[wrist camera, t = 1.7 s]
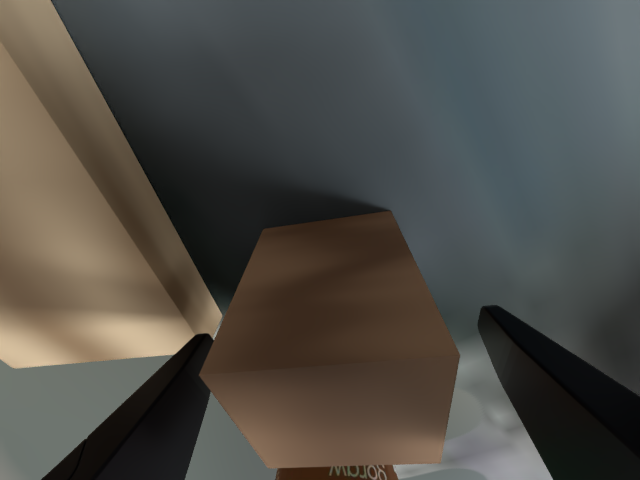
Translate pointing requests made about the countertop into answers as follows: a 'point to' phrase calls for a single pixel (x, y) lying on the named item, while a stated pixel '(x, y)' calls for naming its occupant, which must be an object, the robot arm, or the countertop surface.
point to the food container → (339, 473)
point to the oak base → (80, 216)
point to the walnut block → (335, 349)
